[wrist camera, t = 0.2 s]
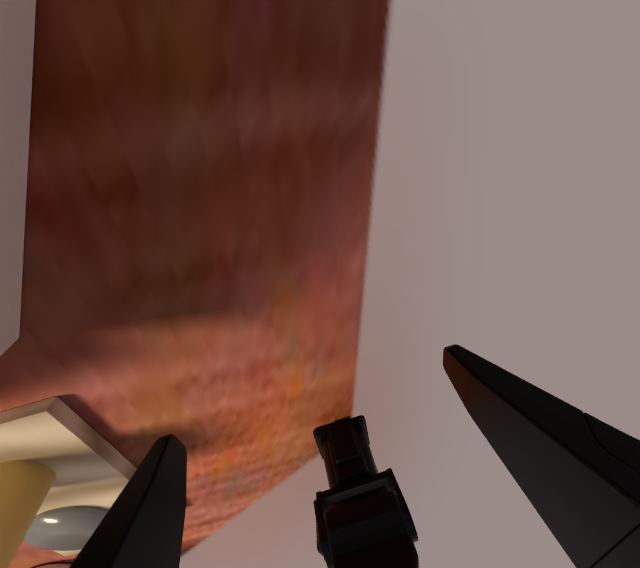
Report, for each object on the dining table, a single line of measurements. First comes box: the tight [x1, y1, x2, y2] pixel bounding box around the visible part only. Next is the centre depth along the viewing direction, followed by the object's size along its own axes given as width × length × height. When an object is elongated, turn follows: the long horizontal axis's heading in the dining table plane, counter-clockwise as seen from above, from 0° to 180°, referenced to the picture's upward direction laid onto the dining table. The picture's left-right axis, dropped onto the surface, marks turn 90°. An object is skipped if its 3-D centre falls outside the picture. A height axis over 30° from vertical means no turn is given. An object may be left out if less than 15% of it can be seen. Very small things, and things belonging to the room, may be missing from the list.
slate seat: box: [23, 506, 108, 551], centre depth 33 cm, size 9×9×1 cm
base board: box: [0, 396, 137, 557], centre depth 30 cm, size 24×14×2 cm, turn 11°
